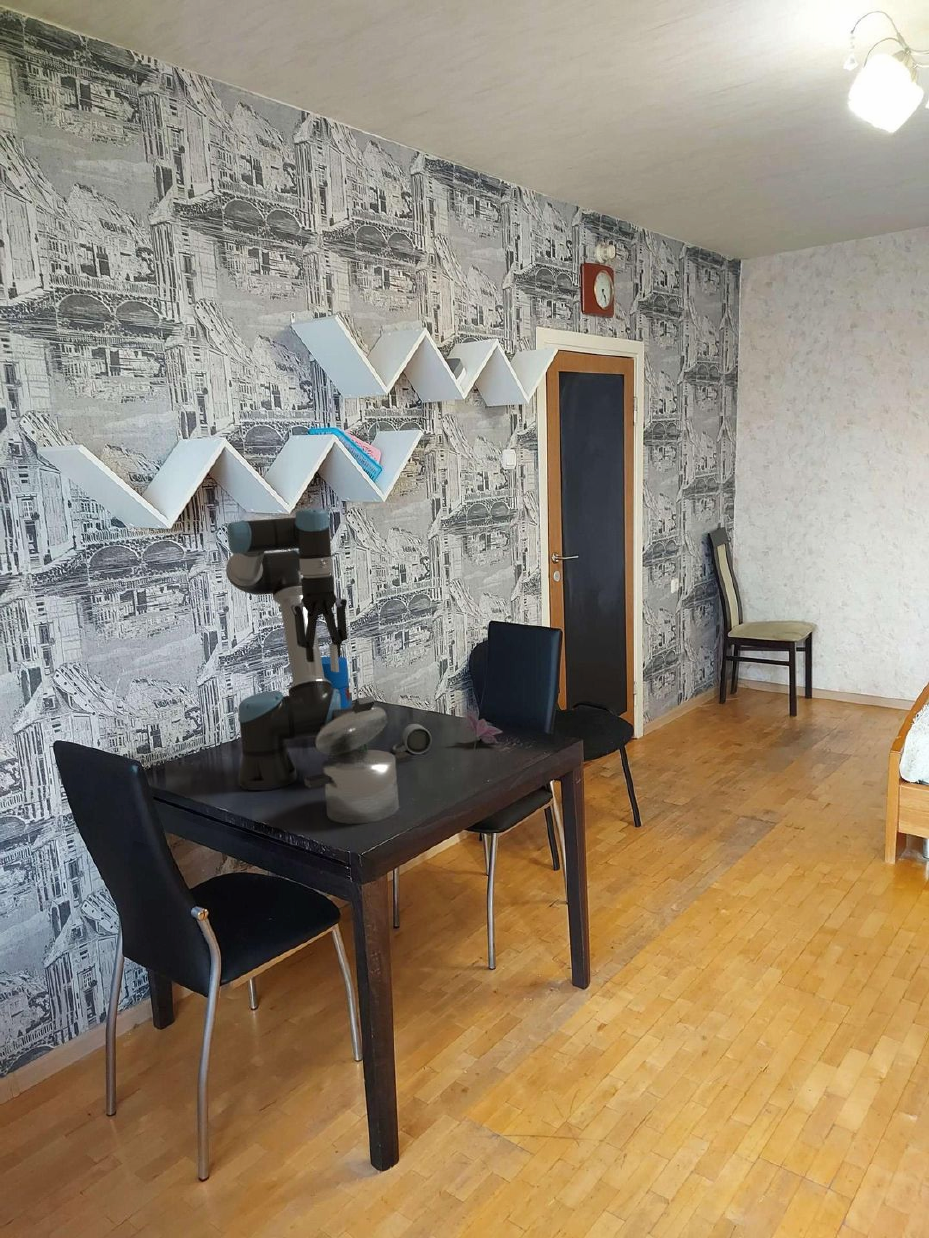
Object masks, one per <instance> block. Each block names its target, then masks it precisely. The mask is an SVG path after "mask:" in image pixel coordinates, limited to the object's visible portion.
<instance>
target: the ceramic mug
mask: <svg viewBox="0 0 929 1238" xmlns="http://www.w3.org/2000/svg"><path fill="white" fill-rule="evenodd" d="M401 738H402V740H400V741H399V742H397V743H396V744H395V745H393V747H392V750H393V753H394V755H396V754H399V753H403V752H406V751H408V752H409V753H410V754H412V755H422V754H424V753H426V752H427V751H428V750H429V749H430V747H432V734H431V733H430V731H429V730H427V728H425V727H424V726H422V725H421V724H419V723H411V724H409V725H407V726H406V727H405V728H404V730H403V731H402V736H401Z"/></svg>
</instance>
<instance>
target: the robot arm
mask: <svg viewBox="0 0 929 1238" xmlns="http://www.w3.org/2000/svg"><path fill="white" fill-rule="evenodd" d="M328 512H329V511H327V510H326V509H325V508H308V509H299V510H297V511H296V512H295V516H294V517H283V518H272V519H271V518H269V519H252V520H250V519H249V520H244V519H243V520H239V521H232V522H230V523H228V525H227V531H226V532H227V534H226V535H227V542H228V548H229V551H230V553H232V556H231V557H230V558H229V559H228V561H227V563H226V569H225V572H226V577H227V580H228V581H229V582H230V584H232V586H234V587H235V588H236V589H238V591H239V590H240V591H242V592H243V593H246V594H250V595H257V596H260V595H261V596H263V595H272V597H273V601H274V602H275V603H277V604H278V605H280V611H281V617H282V623H283V631H284V637H285V643H286V649H287V655H288V660H289V666H290V672H291V673H290V674H291V679H292V684H291V686H290V687H289V688H288V695H284V694H283V693H282V692H281V691H279V690H272V691H271V690H269V691H263V692H259V693H256V694H252V695H250V696H248V697H246V698H244V699H242V700H241V701H240V703H239V704H238V707H237V708H238V719H237V720H238V722H239V728H240V729H239V730H240V731H239V732H240V742H241V750H242V756H241V757H242V758H241V761H240V766H239V770H238V775H237V779H238V780H237V781H238V786H239V785H240V786H241V787H243V788H245V789H244V790H246V789H250V790H249V791H253V790H261V791H270V790H275V789H280V788H283V787H285V786H289V785H291V784H292V783H294V782H296V780H297V778H298V777H297V776H298V775H297V774H298V773H297V769H296V766H295V763H294V762H293V759H292V757H291V755H290V753H289V749H288V742H287V741H290V740H291V741H292V740H297V739H304V738H311V737H317V735H318V733H319V732H320V731H321V730H320V728H321V727H322V726H323V725H326V724H328V723H330V722H331V718H332V711H333V710H339V709H341V700H340V694H339V690H338V689H332V685H331V682H330V681H328V680H327V679H325V678H324V672H323V666H322V661H321V658H322V656H321V651H320V645H319V639H318V634H317V623H318V620H319V616H321V615H322V617H323V619H324V621H325V624H326V627H327V630H328V634H329V636H330V637H329V638H330V640H331V643H329V644H328V646H329V647H328V648H329V650H328V651H329V657H330V662H331V671H334V672H339V664H338V657H342V654H341V653H342V651H341V650H342V649H341V645H342V644H343V642H344V641H347V640H348V631H347V630H348V628H347V616H346V615H347V614H346V608H347V604H348V601H347V599H345V598H339V597H337V595H336V593H335V583H334V580H335V579H334V576H333V575H332V573H333V572H334V570H333V559H332V557H333V556H332V549H331V547H332V545H331V533H330V532H331V531H330V526H331V523H330V520H329V513H328ZM297 549H298V550H297ZM283 550H285V551H283ZM286 550H288V551H286ZM334 605H335V608H336V609H335V612H336V622H335V619H334V618H335V617H334V611H333V608H334ZM240 786H239V787H240ZM241 787H240V788H241ZM243 788H242V789H243Z"/></svg>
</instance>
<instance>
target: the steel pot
mask: <svg viewBox="0 0 929 1238" xmlns="http://www.w3.org/2000/svg"><path fill="white" fill-rule="evenodd" d="M412 755H413V754H412V753H410V752H409V753H408V752H406V751H404V752H402V753H399V754H392V753H391V752H389V751H383V750H379V749H378V750H376V749H368V750H359V751H347V752H344V753H340V754H332V755H329V758H327V759H325V760H324V762H323V763H322V769H323V773H320V774H316V775H311V776H308V777H304V778H303V779H304V785H305V786H306V787H308V788H309V789H313V788H317V787H321V786H324V793H325V794H324V795H325V805H326V814H327V818H329V819H330V820H332V821H334V822H337V823H341V824H350V825H352V824H353V825H354V824H355V825H356V824H367V823H369V824H370V823H373V822H378V821H381V820H384V819H386V818H390V817H392V815H394V814H396V813H397V812H398V811H399V807H400V805H399V803H400V802H399V791H398V790H399V789H398V779H397V766H398V765H402V764H406V763H410V762H412V761H413V759H412V758H413V756H412Z"/></svg>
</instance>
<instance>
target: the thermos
mask: <svg viewBox="0 0 929 1238" xmlns="http://www.w3.org/2000/svg"><path fill="white" fill-rule="evenodd" d="M321 661H322V666H323V672H324V678H325V679H327V680H328V681H330V682H331V685H332V689H338V690H339V694H340V700H341V709H346V708H352V706H351V695H350V684H349V683H350V682H349V671H348V670H349V669H348V662H347V658H346V657H344V656H340V657H338V664H339V672H334V671H331V662H330V656H324V657H321Z"/></svg>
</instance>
